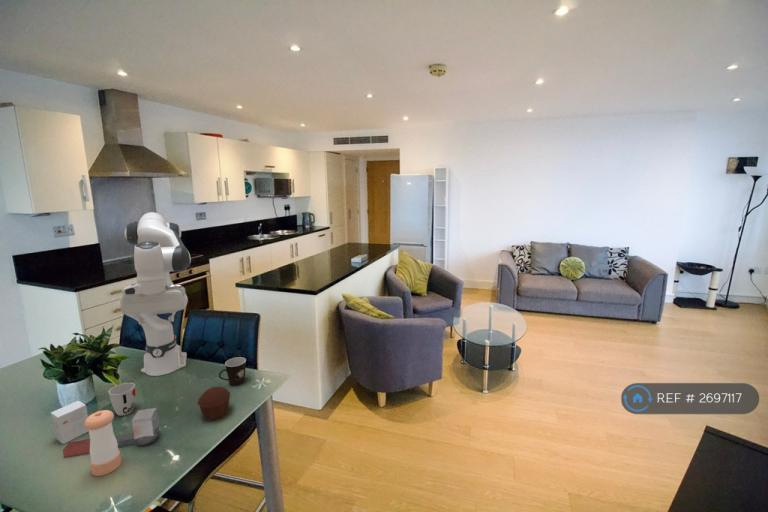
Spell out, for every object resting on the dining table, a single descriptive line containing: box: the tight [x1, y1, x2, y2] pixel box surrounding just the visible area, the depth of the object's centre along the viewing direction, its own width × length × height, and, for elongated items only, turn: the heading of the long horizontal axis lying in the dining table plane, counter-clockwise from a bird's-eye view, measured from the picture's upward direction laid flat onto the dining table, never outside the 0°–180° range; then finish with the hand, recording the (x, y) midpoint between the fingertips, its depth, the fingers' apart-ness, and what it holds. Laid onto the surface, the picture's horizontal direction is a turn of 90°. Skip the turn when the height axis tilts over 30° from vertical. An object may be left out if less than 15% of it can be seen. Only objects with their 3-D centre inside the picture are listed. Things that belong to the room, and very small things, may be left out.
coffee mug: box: [218, 356, 247, 387], centre depth 152 cm, size 12×9×10 cm
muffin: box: [196, 385, 231, 421], centre depth 131 cm, size 12×11×10 cm
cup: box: [108, 382, 136, 417], centre depth 132 cm, size 8×8×10 cm
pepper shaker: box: [84, 409, 123, 477], centre depth 104 cm, size 7×7×19 cm
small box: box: [50, 400, 89, 445], centre depth 119 cm, size 8×6×10 cm
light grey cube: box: [131, 407, 160, 439], centre depth 117 cm, size 6×6×7 cm
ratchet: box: [62, 426, 161, 459], centre depth 115 cm, size 7×26×6 cm, turn 107°
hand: (156, 322), depth 126 cm, fingers open, 8 cm apart
